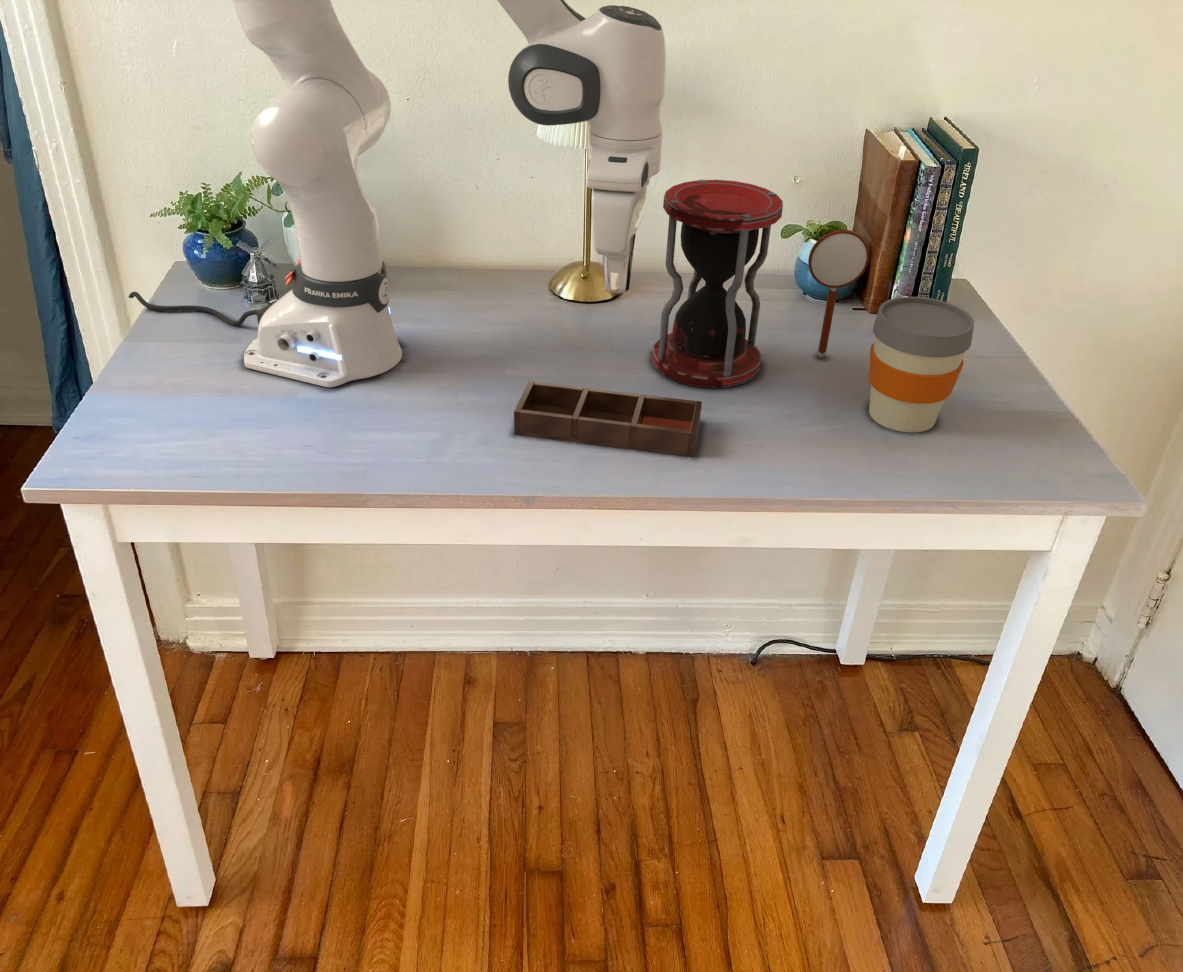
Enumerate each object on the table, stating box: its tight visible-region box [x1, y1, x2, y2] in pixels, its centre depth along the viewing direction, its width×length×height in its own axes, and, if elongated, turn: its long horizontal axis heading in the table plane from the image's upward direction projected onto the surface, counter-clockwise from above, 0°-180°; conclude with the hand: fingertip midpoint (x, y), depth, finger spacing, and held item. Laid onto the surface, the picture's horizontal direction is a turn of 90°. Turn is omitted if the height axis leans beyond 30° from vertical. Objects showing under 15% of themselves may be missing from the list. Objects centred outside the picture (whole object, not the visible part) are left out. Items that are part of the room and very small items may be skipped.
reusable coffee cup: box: [867, 296, 975, 433], centre depth 134 cm, size 13×13×15 cm
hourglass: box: [651, 179, 784, 389], centre depth 142 cm, size 16×16×25 cm
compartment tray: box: [513, 380, 703, 458], centre depth 132 cm, size 24×8×4 cm, turn 80°
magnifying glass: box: [807, 229, 870, 358], centre depth 146 cm, size 9×2×20 cm, turn 91°
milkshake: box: [602, 215, 645, 295], centre depth 128 cm, size 4×5×10 cm
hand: (620, 263), depth 129 cm, fingers closed on milkshake, 4 cm apart
